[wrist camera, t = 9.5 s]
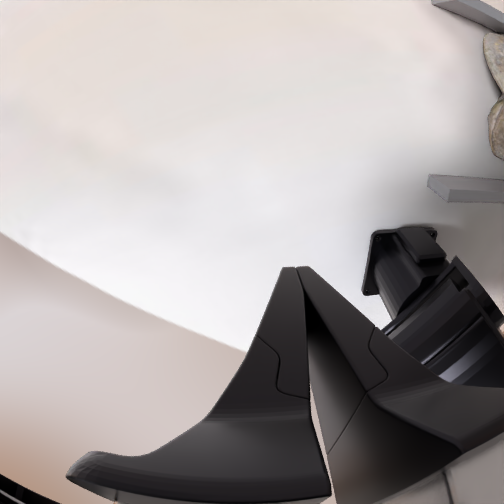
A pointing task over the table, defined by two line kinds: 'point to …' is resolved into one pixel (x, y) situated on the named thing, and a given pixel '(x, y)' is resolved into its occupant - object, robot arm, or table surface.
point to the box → (458, 187)
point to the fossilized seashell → (500, 64)
